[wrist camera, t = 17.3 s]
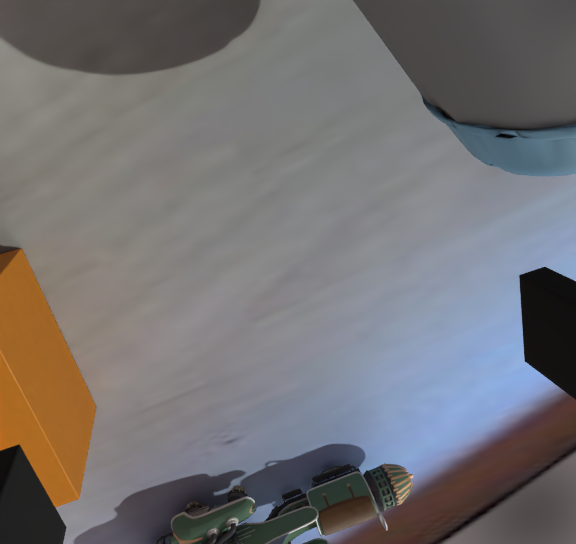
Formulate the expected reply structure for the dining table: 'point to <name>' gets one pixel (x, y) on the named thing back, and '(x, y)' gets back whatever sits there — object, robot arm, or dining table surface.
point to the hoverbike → (297, 509)
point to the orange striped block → (40, 385)
